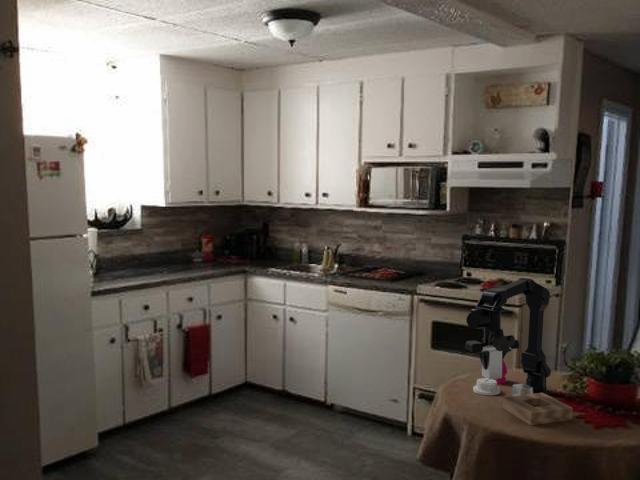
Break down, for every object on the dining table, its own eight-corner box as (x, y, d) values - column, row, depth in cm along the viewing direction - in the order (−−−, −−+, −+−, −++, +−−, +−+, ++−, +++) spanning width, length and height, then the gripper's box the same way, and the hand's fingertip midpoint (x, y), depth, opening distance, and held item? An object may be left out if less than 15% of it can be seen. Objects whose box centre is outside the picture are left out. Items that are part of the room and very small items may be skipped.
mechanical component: (496, 397, 223) (503, 390, 231) (496, 386, 222) (503, 379, 231) (469, 393, 228) (477, 386, 236) (469, 381, 228) (478, 375, 236)
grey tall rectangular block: (494, 374, 218) (494, 347, 217) (501, 378, 213) (502, 350, 212) (481, 375, 217) (482, 348, 216) (489, 379, 212) (489, 351, 211)
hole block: (542, 403, 215) (542, 392, 215) (572, 419, 200) (572, 407, 200) (502, 408, 211) (502, 397, 211) (530, 425, 196) (530, 413, 195)
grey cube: (524, 396, 223) (524, 383, 223) (532, 401, 218) (532, 387, 218) (512, 398, 222) (512, 384, 221) (520, 402, 217) (520, 389, 217)
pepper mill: (507, 384, 237) (508, 334, 235) (488, 383, 238) (489, 333, 237) (506, 379, 244) (506, 330, 242) (487, 378, 245) (488, 329, 244)
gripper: (480, 332, 203) (480, 377, 204) (529, 328, 208) (528, 372, 209) (464, 325, 214) (463, 368, 215) (510, 321, 219) (510, 363, 220)
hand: (491, 368), depth 215 cm, fingers closed on grey tall rectangular block, 5 cm apart
